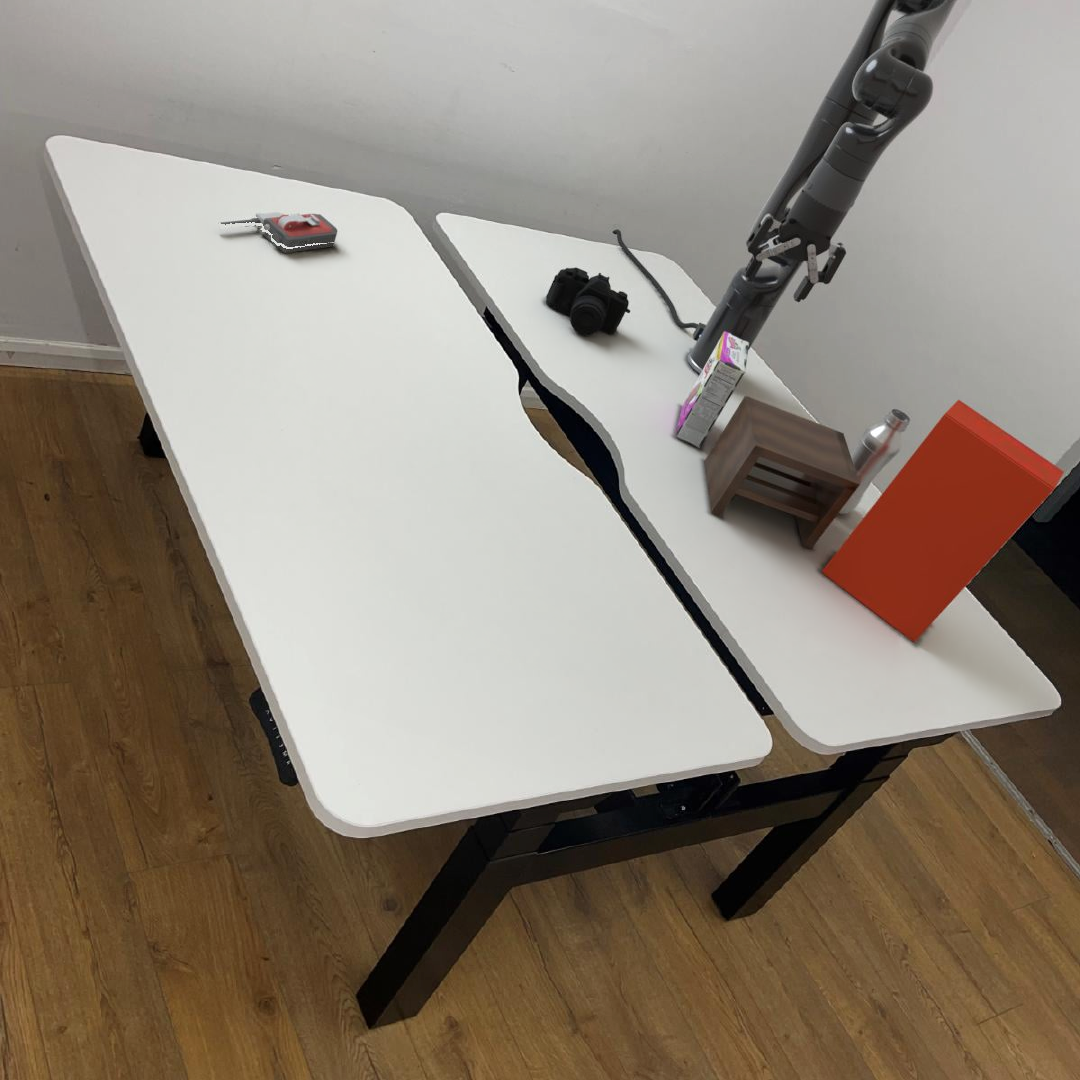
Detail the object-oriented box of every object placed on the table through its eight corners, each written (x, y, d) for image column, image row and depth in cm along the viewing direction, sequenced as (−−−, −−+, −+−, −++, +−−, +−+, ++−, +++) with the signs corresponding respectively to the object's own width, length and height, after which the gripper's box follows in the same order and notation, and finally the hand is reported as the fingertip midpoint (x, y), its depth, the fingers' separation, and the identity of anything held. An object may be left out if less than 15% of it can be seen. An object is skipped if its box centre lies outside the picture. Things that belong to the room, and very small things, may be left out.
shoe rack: (703, 461, 175) (745, 395, 166) (798, 496, 178) (843, 433, 170) (710, 513, 164) (755, 445, 155) (811, 549, 168) (860, 484, 159)
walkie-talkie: (309, 219, 183) (213, 229, 168) (315, 196, 180) (218, 204, 165) (341, 247, 180) (246, 260, 165) (348, 224, 177) (252, 235, 163)
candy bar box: (679, 406, 185) (724, 329, 175) (704, 418, 186) (750, 342, 176) (672, 437, 176) (719, 358, 167) (699, 449, 177) (747, 371, 167)
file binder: (913, 644, 159) (1054, 489, 140) (820, 573, 163) (944, 413, 144) (927, 622, 165) (1064, 470, 146) (837, 554, 169) (959, 398, 150)
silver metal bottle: (809, 492, 181) (875, 401, 169) (837, 493, 184) (903, 404, 172) (828, 518, 177) (897, 426, 165) (857, 519, 180) (926, 429, 168)
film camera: (537, 317, 189) (556, 274, 184) (546, 295, 197) (564, 253, 191) (613, 351, 191) (634, 310, 185) (619, 329, 198) (639, 288, 193)
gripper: (864, 204, 159) (807, 295, 169) (781, 168, 156) (729, 262, 166) (874, 224, 153) (815, 317, 163) (788, 187, 150) (733, 283, 160)
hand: (771, 289), depth 164 cm, fingers open, 8 cm apart
